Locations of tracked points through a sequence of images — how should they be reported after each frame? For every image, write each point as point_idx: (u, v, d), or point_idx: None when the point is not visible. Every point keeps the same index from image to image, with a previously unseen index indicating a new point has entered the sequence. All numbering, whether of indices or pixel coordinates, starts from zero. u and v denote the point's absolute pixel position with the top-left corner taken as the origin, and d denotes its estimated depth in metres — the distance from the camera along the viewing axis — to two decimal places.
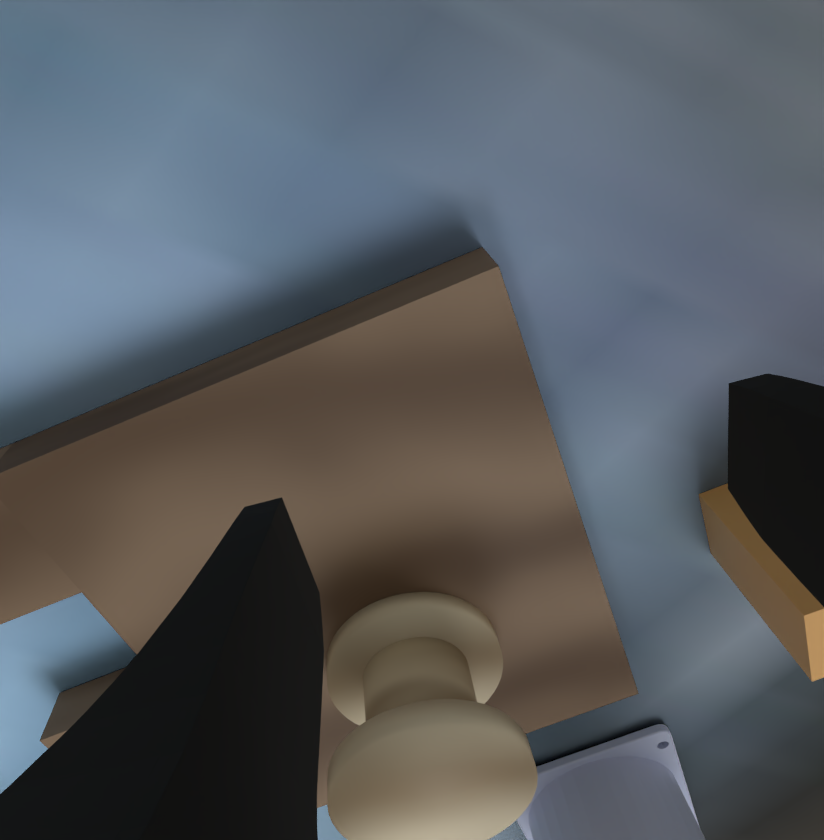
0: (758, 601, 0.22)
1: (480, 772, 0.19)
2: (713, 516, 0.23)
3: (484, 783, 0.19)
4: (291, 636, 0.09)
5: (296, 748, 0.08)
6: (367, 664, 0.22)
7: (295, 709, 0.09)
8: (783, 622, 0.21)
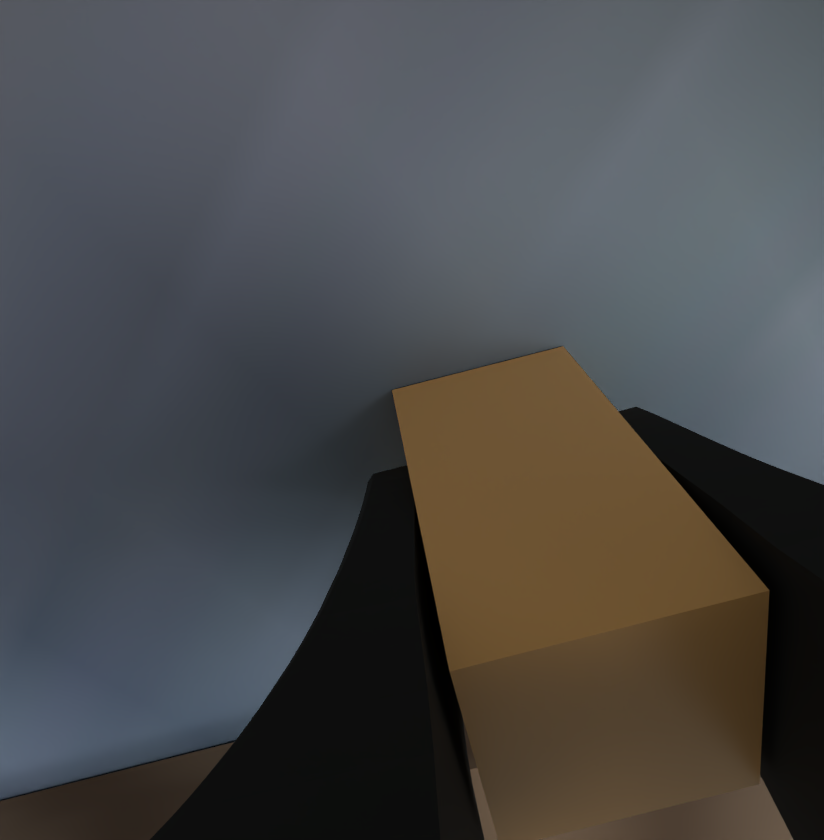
0: None
1: None
2: None
3: None
4: None
5: (454, 708, 0.08)
6: None
7: (448, 670, 0.09)
8: None
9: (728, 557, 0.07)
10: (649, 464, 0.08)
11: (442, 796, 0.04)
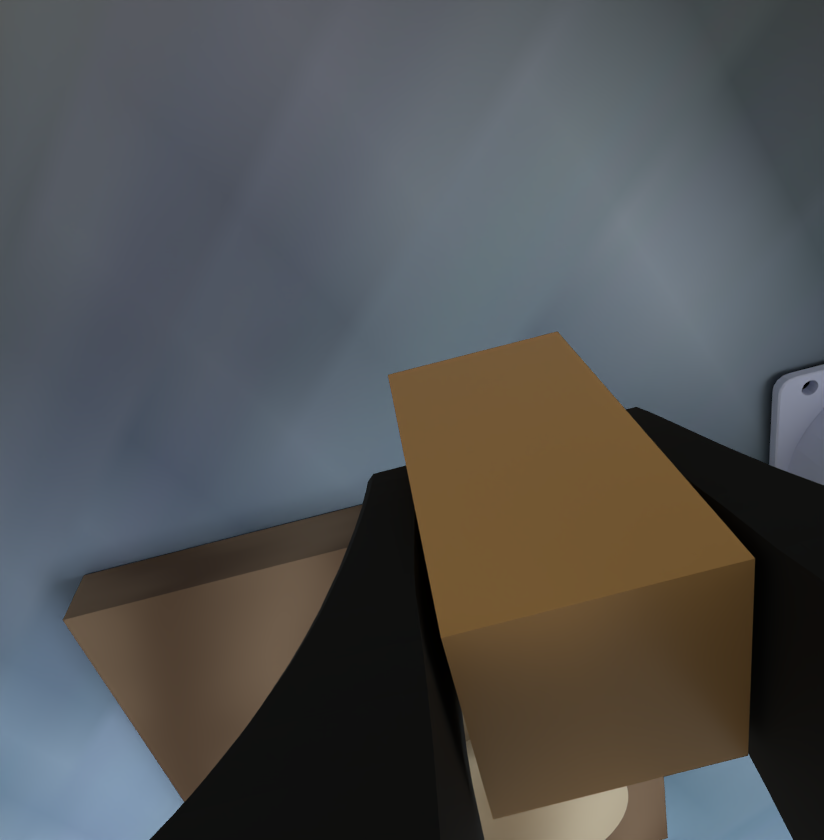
0: None
1: None
2: None
3: None
4: None
5: (454, 708, 0.08)
6: None
7: (448, 670, 0.09)
8: None
9: (715, 528, 0.07)
10: (640, 441, 0.08)
11: (442, 796, 0.04)
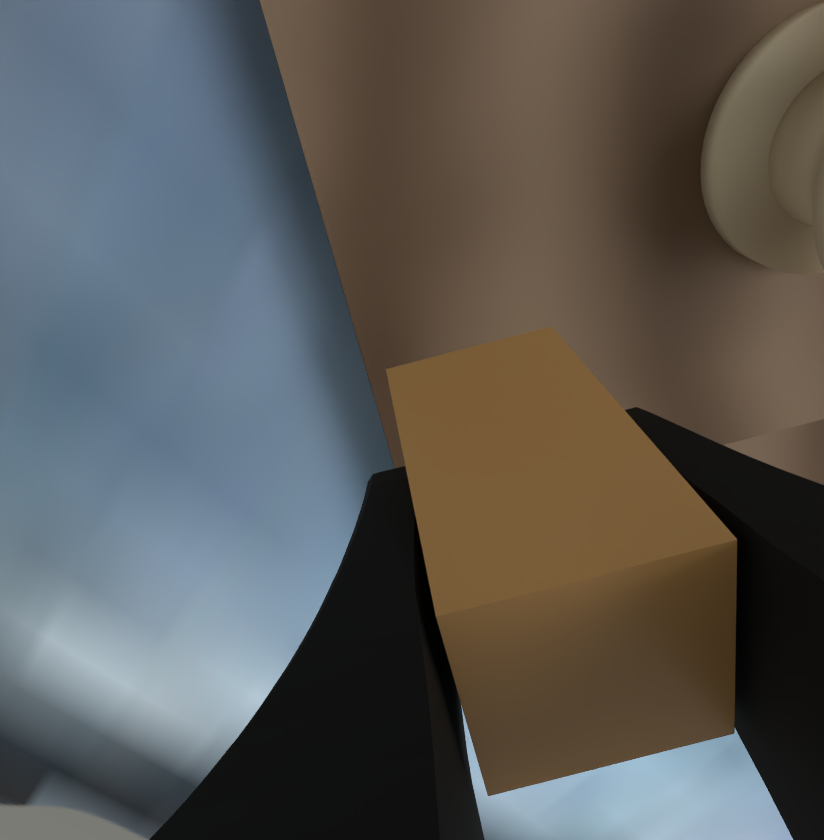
0: None
1: None
2: None
3: None
4: None
5: (454, 708, 0.08)
6: (786, 213, 0.16)
7: (448, 670, 0.09)
8: None
9: (700, 511, 0.07)
10: (629, 431, 0.08)
11: (442, 797, 0.04)
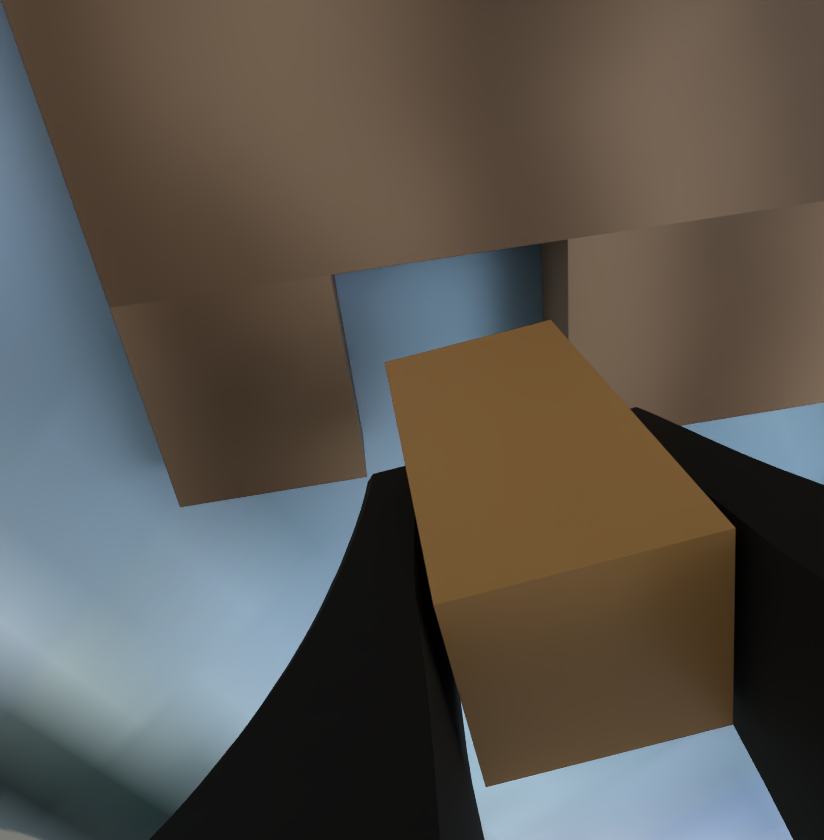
0: None
1: None
2: None
3: None
4: None
5: (454, 708, 0.08)
6: None
7: (448, 670, 0.09)
8: None
9: (698, 500, 0.07)
10: (628, 422, 0.08)
11: (442, 796, 0.04)
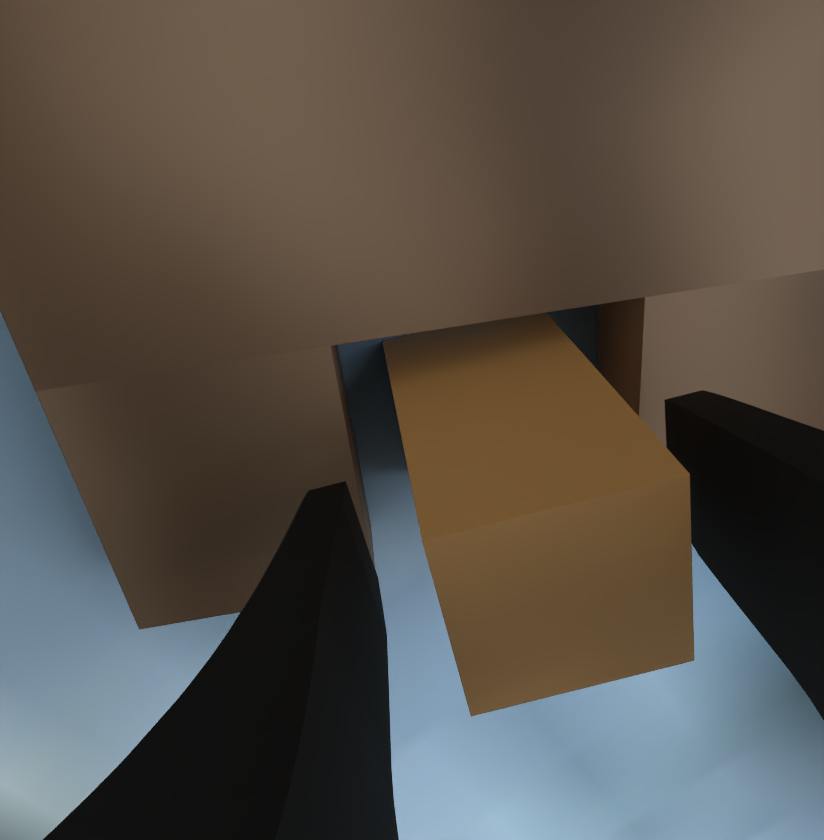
0: None
1: None
2: None
3: None
4: (363, 618, 0.09)
5: (374, 728, 0.08)
6: None
7: (371, 690, 0.09)
8: None
9: (659, 452, 0.08)
10: (602, 388, 0.09)
11: (293, 834, 0.04)
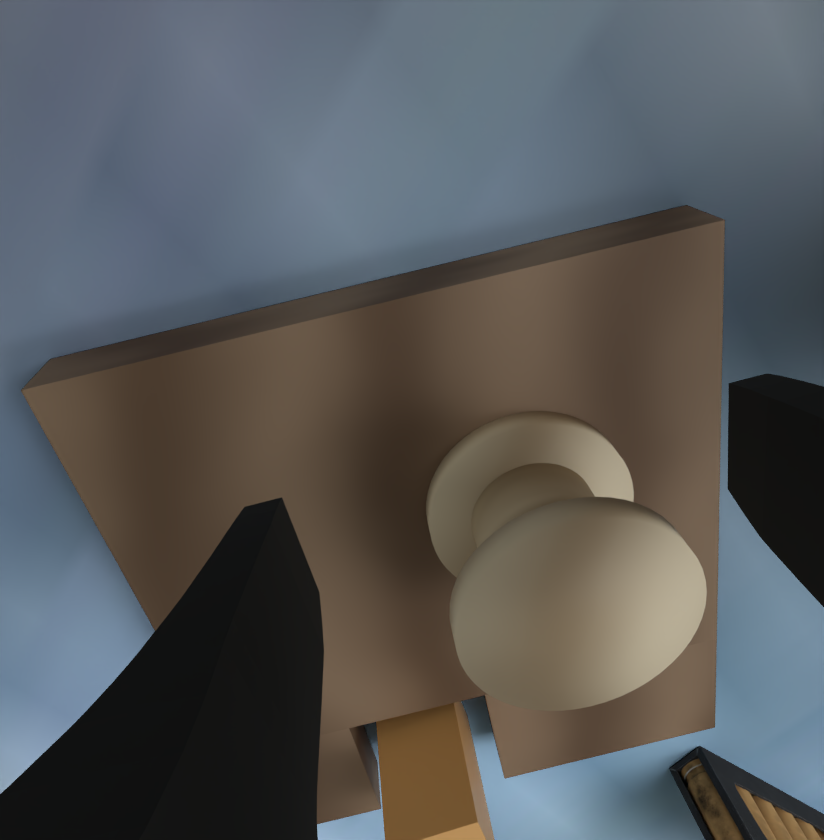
0: None
1: (563, 578, 0.15)
2: None
3: (587, 574, 0.15)
4: (291, 636, 0.09)
5: (296, 748, 0.08)
6: None
7: (295, 709, 0.09)
8: None
9: (471, 807, 0.21)
10: (460, 757, 0.23)
11: None
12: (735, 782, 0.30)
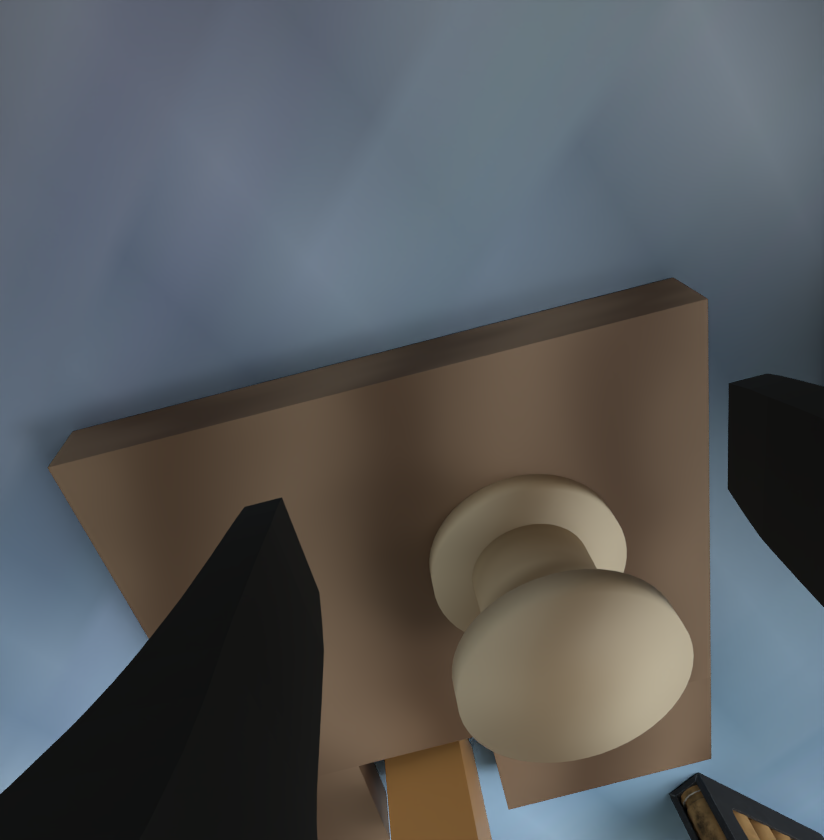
0: None
1: (558, 645, 0.16)
2: None
3: (580, 642, 0.16)
4: (291, 636, 0.09)
5: (296, 748, 0.08)
6: None
7: (295, 709, 0.09)
8: None
9: None
10: (465, 795, 0.24)
11: None
12: (733, 807, 0.31)
